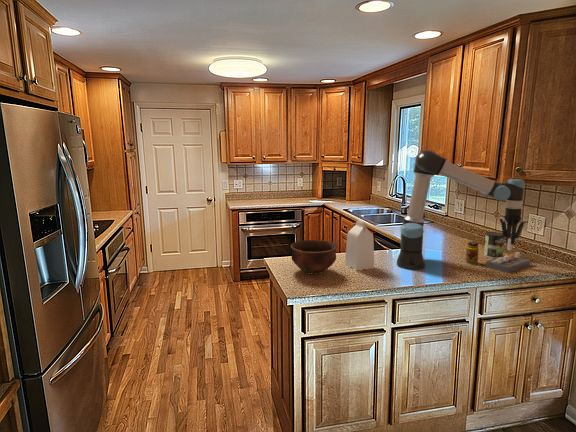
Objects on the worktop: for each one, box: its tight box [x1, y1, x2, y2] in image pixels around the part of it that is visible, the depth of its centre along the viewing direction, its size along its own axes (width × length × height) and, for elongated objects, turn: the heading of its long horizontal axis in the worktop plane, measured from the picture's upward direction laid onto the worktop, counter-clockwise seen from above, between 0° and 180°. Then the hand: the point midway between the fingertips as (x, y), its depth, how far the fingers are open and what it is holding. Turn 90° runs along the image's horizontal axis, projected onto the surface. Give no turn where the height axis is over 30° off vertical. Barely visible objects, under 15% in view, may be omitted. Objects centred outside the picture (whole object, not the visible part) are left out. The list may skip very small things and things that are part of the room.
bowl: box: [290, 239, 338, 275], centre depth 201 cm, size 25×25×15 cm
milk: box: [344, 219, 375, 271], centre depth 208 cm, size 12×12×26 cm
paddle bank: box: [497, 251, 521, 264], centre depth 208 cm, size 21×1×3 cm, turn 122°
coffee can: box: [483, 231, 506, 259], centre depth 226 cm, size 10×10×14 cm
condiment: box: [461, 241, 481, 266], centre depth 214 cm, size 7×8×12 cm
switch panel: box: [484, 254, 532, 274], centre depth 208 cm, size 24×12×3 cm, turn 122°
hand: (509, 249), depth 207 cm, fingers closed
